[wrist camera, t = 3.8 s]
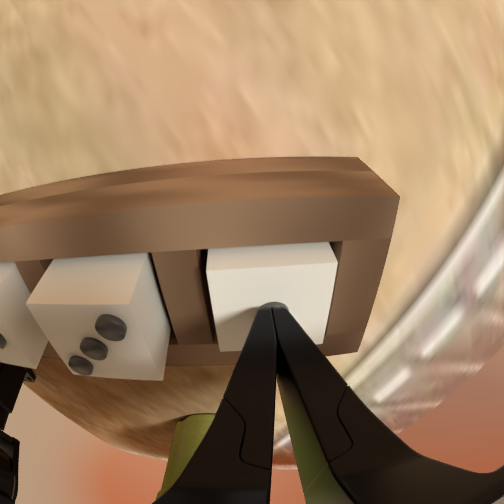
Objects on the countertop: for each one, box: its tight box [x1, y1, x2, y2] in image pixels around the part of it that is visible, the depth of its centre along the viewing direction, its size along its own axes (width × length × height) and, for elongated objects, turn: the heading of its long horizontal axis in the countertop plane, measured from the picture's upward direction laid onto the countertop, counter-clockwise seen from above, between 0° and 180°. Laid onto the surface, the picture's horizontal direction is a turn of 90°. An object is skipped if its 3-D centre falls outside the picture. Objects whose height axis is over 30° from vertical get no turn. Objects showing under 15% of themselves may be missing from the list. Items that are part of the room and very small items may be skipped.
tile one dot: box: [206, 242, 338, 352], centre depth 10 cm, size 4×4×3 cm
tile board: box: [0, 157, 400, 366], centre depth 11 cm, size 18×7×4 cm, turn 92°
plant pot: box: [156, 414, 215, 500], centre depth 20 cm, size 9×9×9 cm
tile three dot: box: [26, 252, 171, 381], centre depth 9 cm, size 4×4×3 cm
